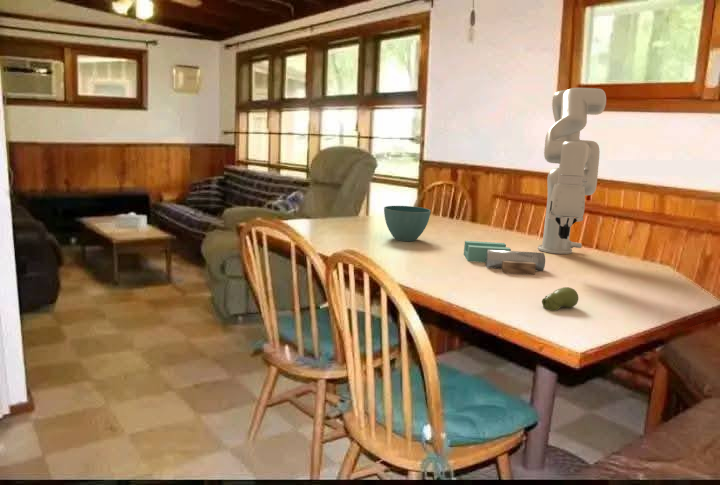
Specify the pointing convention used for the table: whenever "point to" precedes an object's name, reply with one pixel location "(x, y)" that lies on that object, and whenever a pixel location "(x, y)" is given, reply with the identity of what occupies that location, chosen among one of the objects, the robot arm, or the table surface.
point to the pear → (560, 299)
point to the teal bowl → (406, 221)
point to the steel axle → (513, 258)
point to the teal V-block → (481, 250)
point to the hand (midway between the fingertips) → (563, 238)
